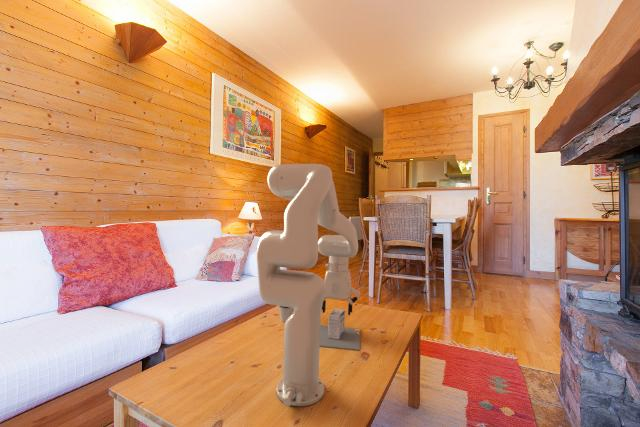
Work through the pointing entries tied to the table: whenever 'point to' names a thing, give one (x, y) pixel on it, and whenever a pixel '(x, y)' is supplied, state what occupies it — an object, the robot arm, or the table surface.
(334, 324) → the medicine box
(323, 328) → the mat
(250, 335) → the table surface
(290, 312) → the house plant
